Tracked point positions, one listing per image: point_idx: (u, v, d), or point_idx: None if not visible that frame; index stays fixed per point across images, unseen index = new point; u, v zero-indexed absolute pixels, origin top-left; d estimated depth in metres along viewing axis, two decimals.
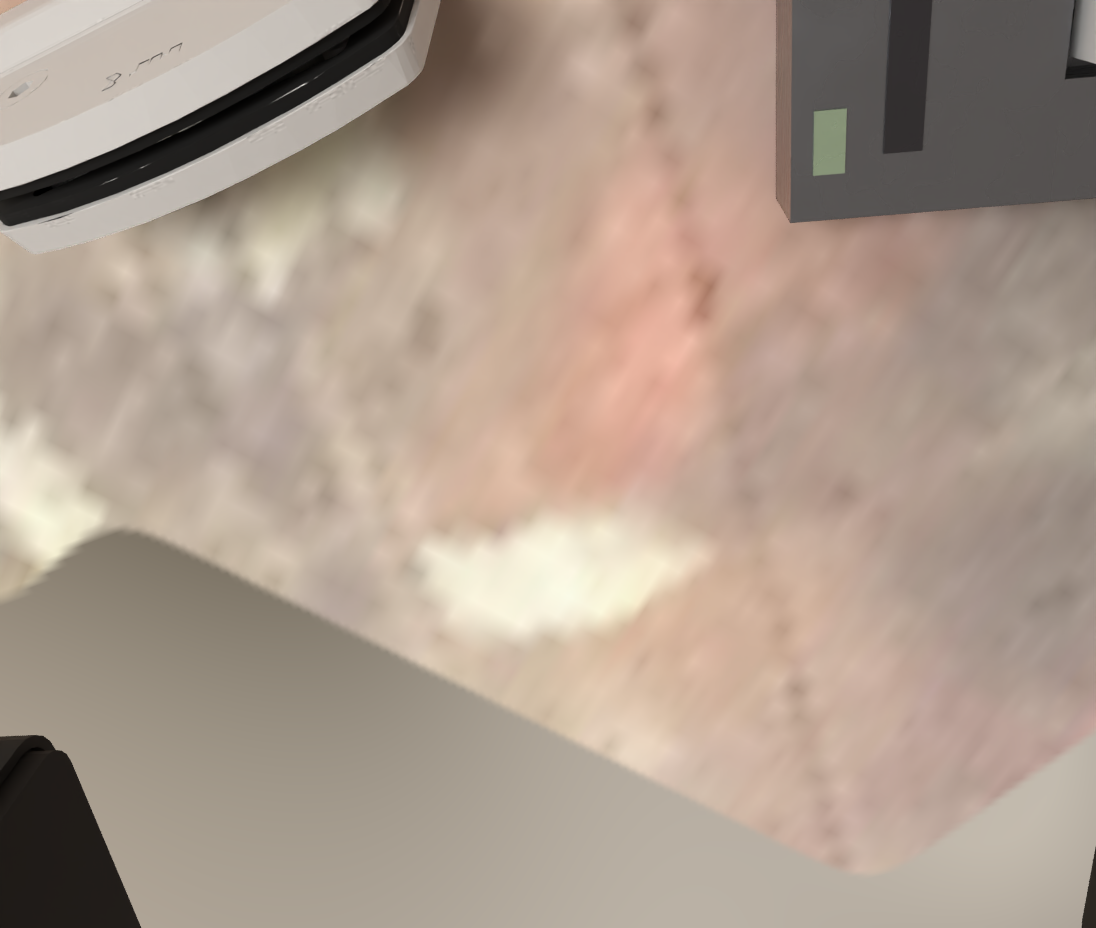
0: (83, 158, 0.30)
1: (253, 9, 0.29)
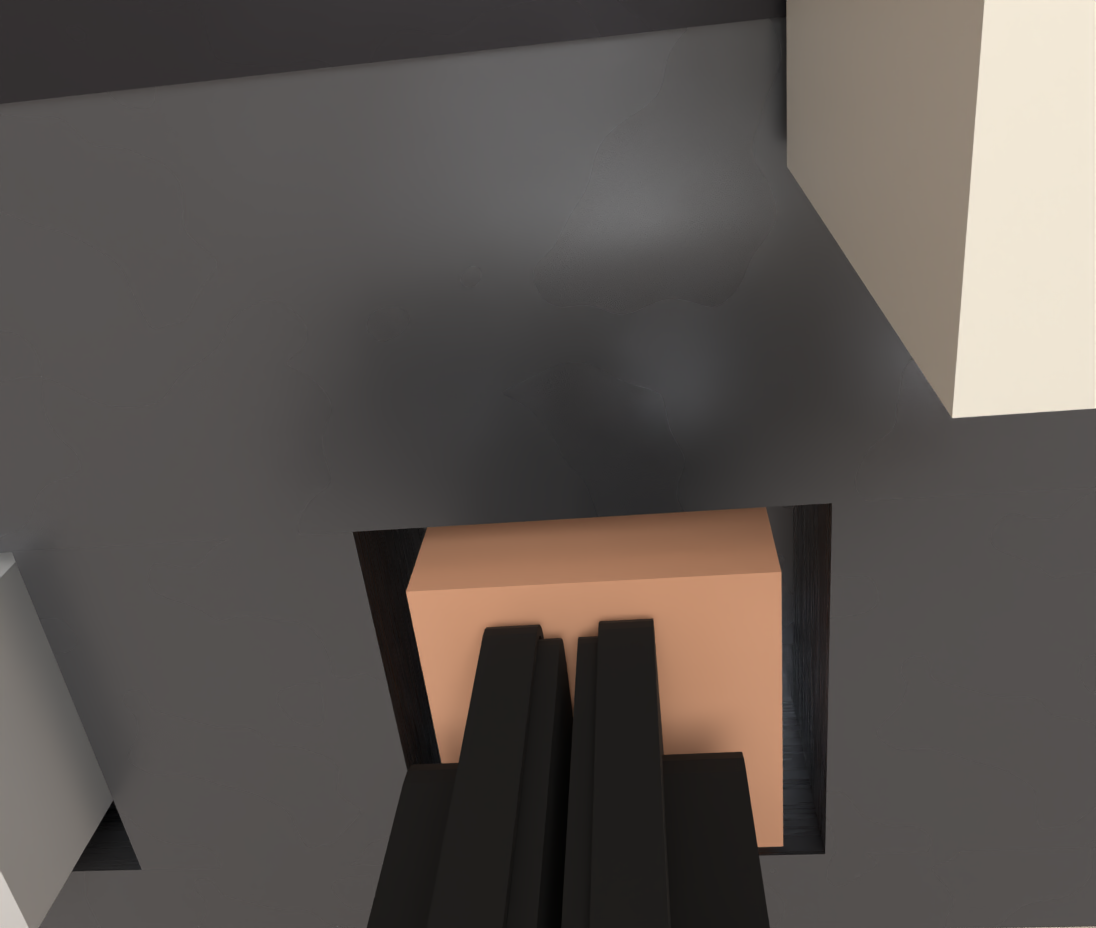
0: None
1: None
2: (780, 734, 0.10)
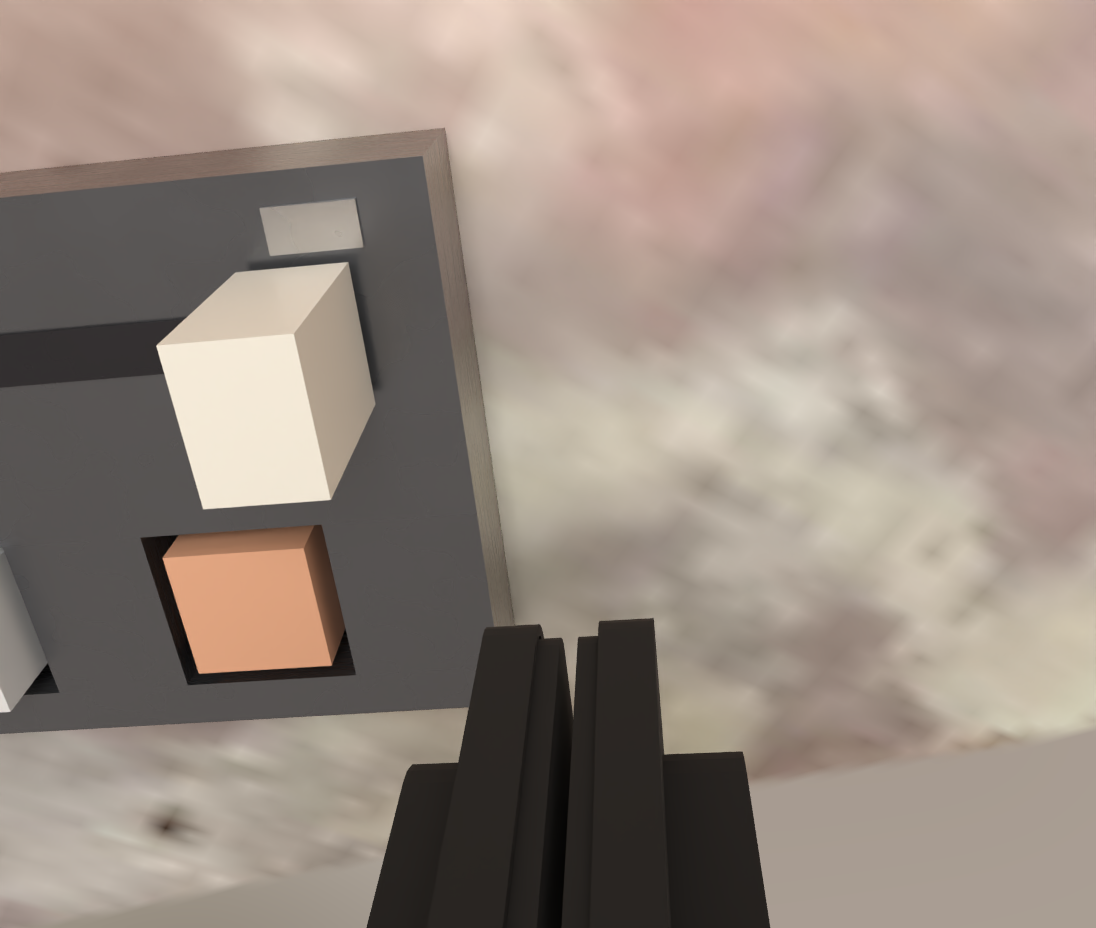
0: None
1: None
2: (319, 615, 0.26)
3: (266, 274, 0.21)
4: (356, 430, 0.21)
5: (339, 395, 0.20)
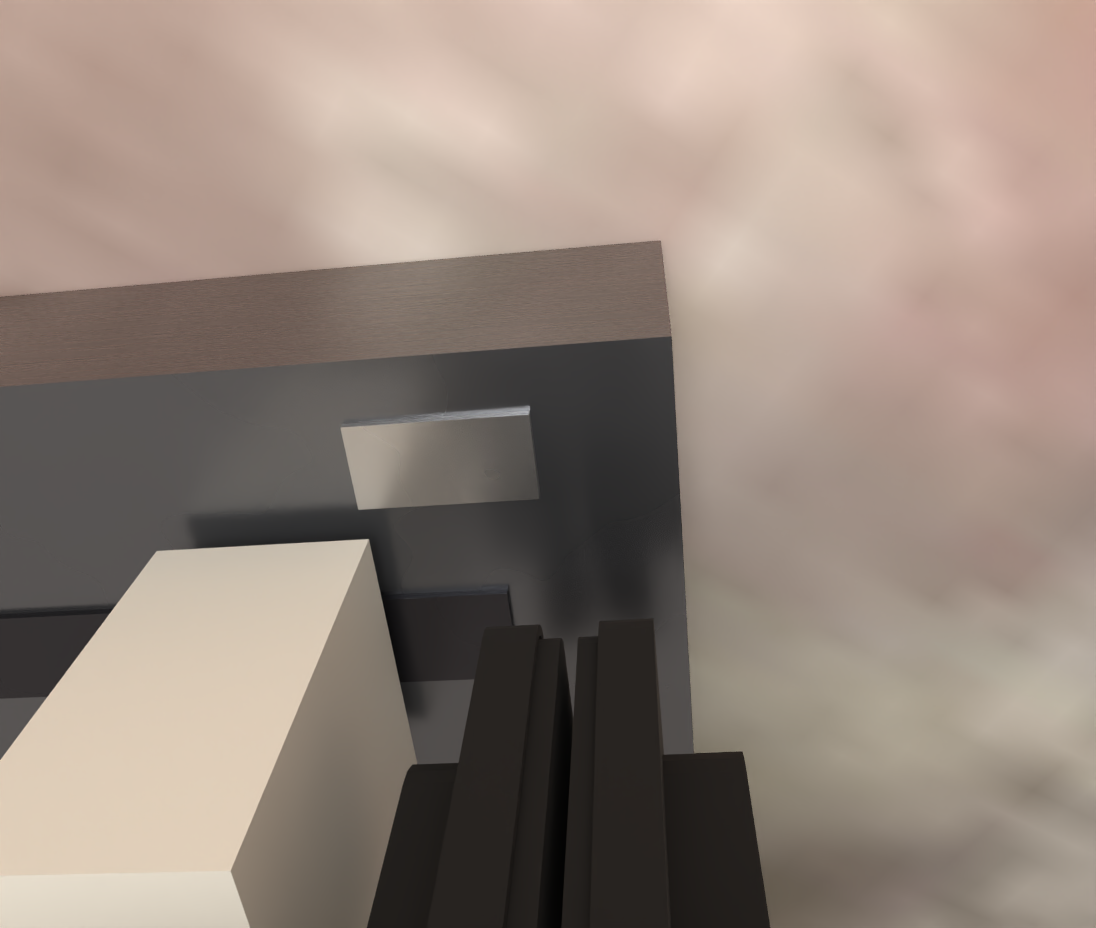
0: None
1: None
2: None
3: (211, 567, 0.11)
4: None
5: (347, 852, 0.10)
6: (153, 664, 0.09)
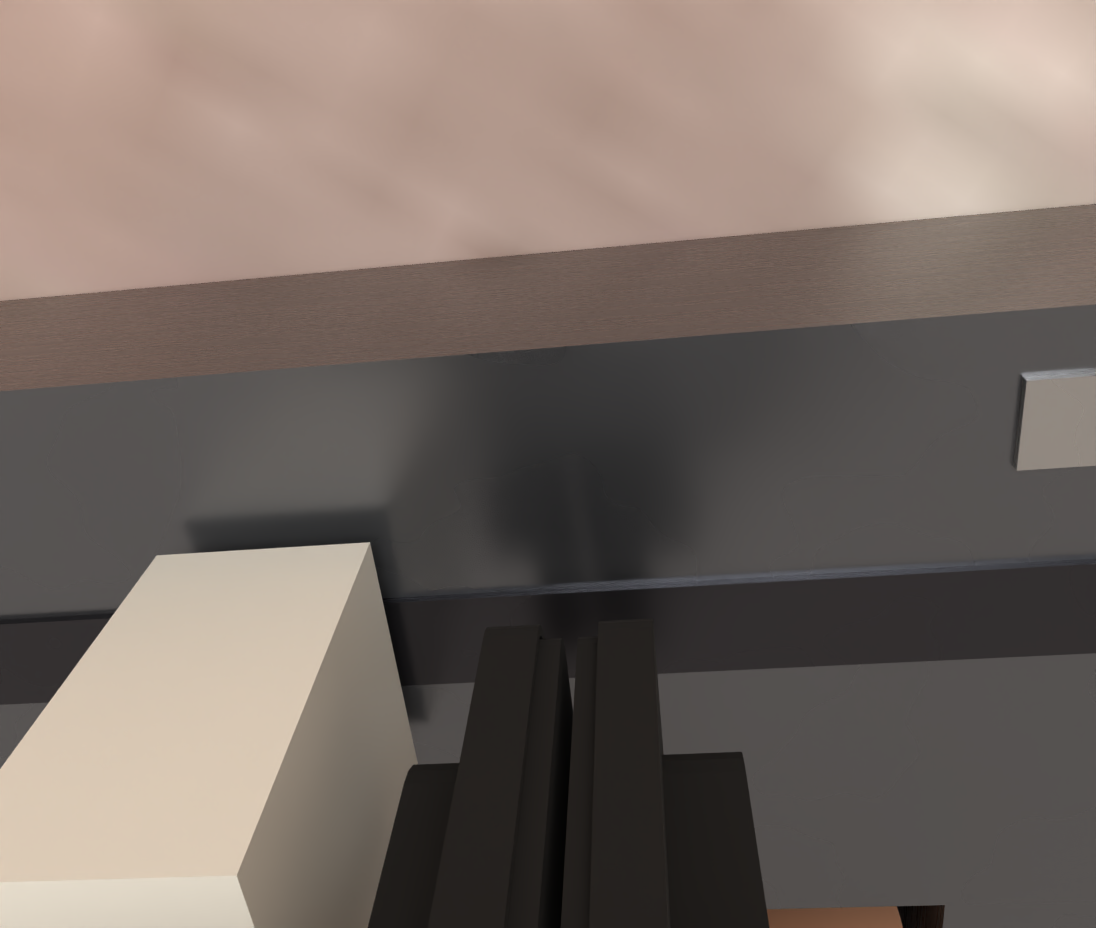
0: None
1: None
2: None
3: (212, 571, 0.11)
4: None
5: (352, 856, 0.10)
6: (155, 669, 0.09)
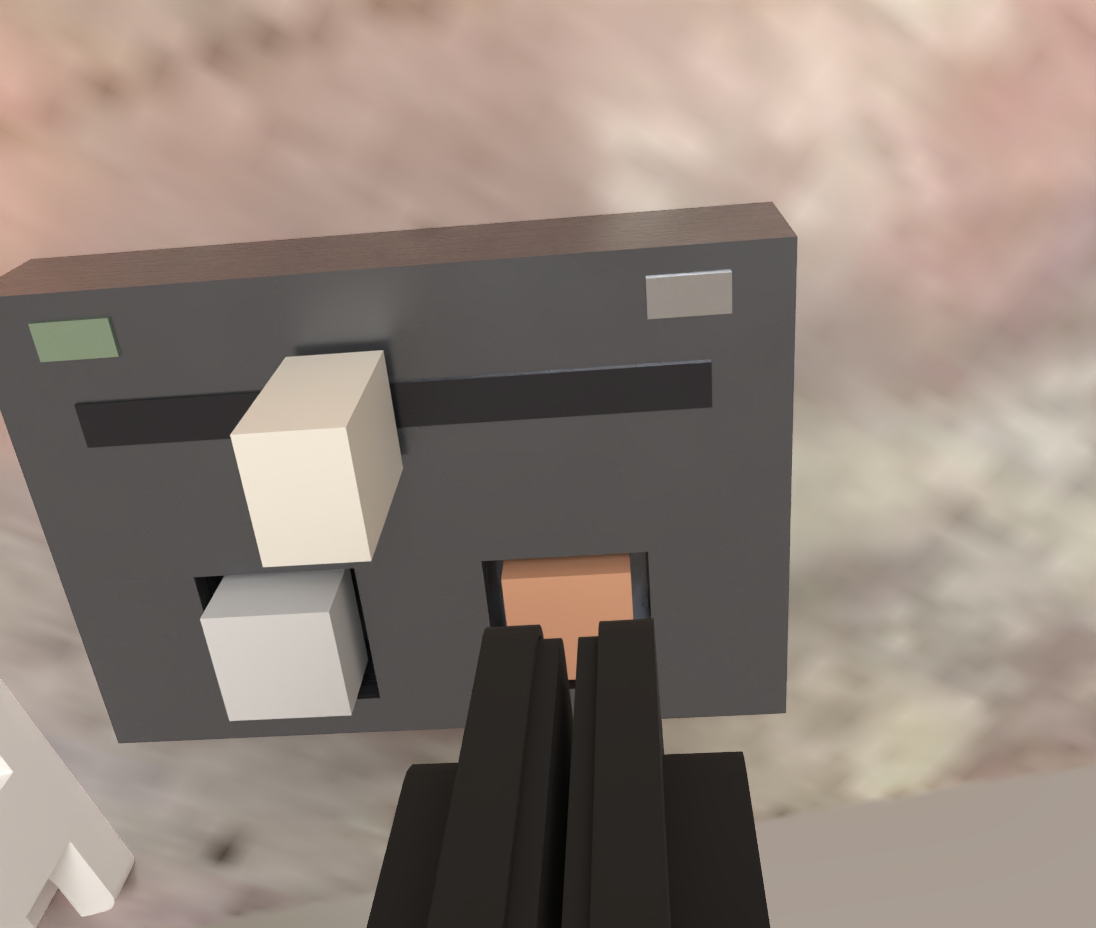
0: None
1: None
2: None
3: (313, 360, 0.25)
4: (389, 495, 0.24)
5: (377, 468, 0.23)
6: (298, 387, 0.23)
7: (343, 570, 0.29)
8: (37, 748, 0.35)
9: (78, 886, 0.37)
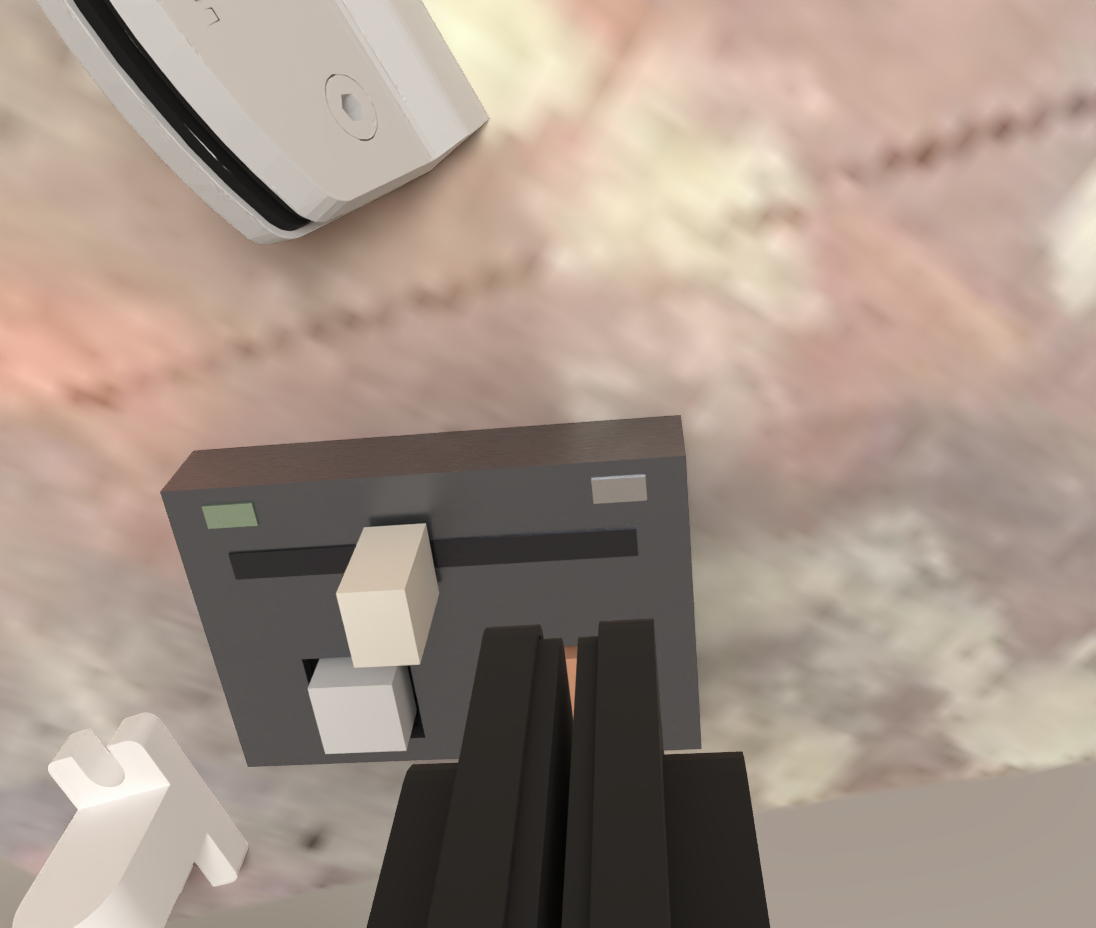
0: None
1: (270, 100, 0.29)
2: None
3: (381, 531, 0.39)
4: (430, 616, 0.39)
5: (423, 603, 0.38)
6: (373, 554, 0.37)
7: None
8: (184, 767, 0.50)
9: (211, 864, 0.51)
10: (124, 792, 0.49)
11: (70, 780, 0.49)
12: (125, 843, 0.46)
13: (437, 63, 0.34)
